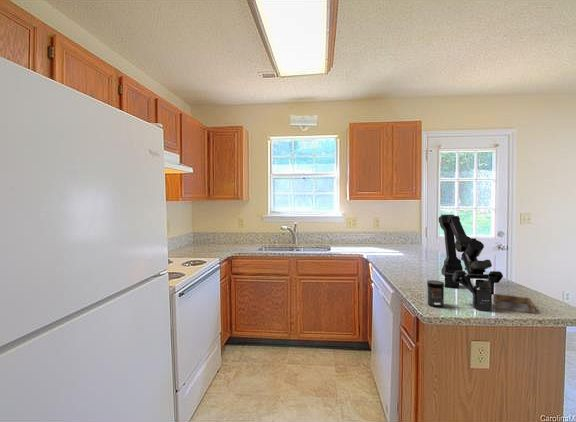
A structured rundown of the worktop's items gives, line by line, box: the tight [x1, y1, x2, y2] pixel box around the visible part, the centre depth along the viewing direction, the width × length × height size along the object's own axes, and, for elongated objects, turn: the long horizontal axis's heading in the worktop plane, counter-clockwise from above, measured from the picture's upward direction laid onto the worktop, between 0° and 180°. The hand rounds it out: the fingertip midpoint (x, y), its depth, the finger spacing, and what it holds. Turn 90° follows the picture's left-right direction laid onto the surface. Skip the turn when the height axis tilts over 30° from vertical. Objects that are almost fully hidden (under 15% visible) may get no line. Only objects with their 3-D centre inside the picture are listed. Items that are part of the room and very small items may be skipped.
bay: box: [492, 293, 536, 315], centre depth 127 cm, size 13×12×3 cm
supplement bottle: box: [472, 279, 493, 312], centre depth 125 cm, size 7×7×12 cm
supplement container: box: [426, 279, 445, 308], centre depth 131 cm, size 7×7×10 cm
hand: (483, 294), depth 124 cm, fingers closed on supplement bottle, 7 cm apart
